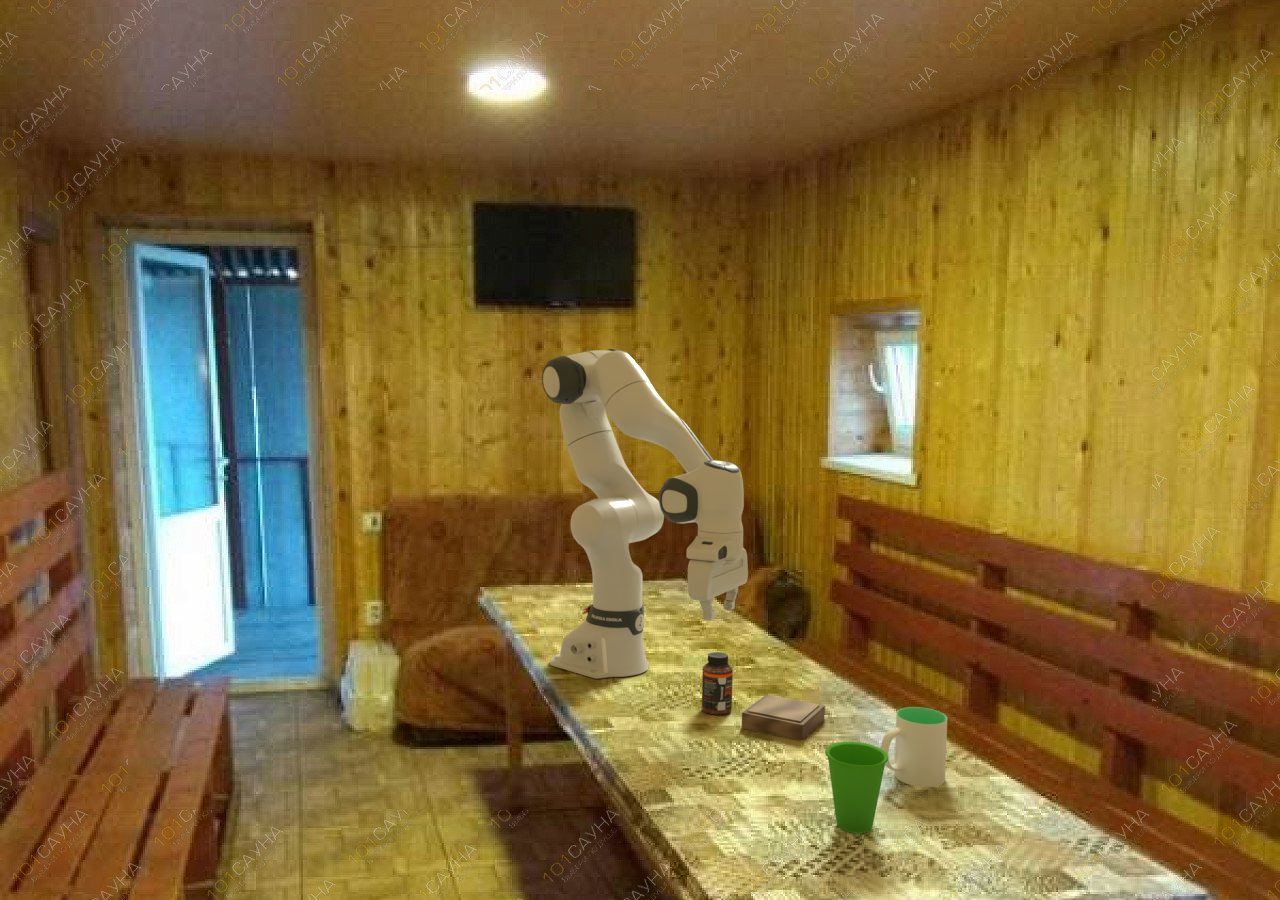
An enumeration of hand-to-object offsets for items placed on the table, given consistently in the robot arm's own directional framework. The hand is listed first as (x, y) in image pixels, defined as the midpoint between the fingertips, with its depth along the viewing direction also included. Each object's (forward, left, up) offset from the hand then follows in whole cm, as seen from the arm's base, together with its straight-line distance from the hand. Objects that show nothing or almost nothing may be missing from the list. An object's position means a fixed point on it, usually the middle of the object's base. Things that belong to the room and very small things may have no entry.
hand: (719, 614), depth 186 cm
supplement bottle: (0, 0, -20) cm, 20 cm away
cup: (+38, -33, -20) cm, 54 cm away
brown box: (+14, 0, -19) cm, 24 cm away
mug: (+41, -12, -20) cm, 47 cm away
